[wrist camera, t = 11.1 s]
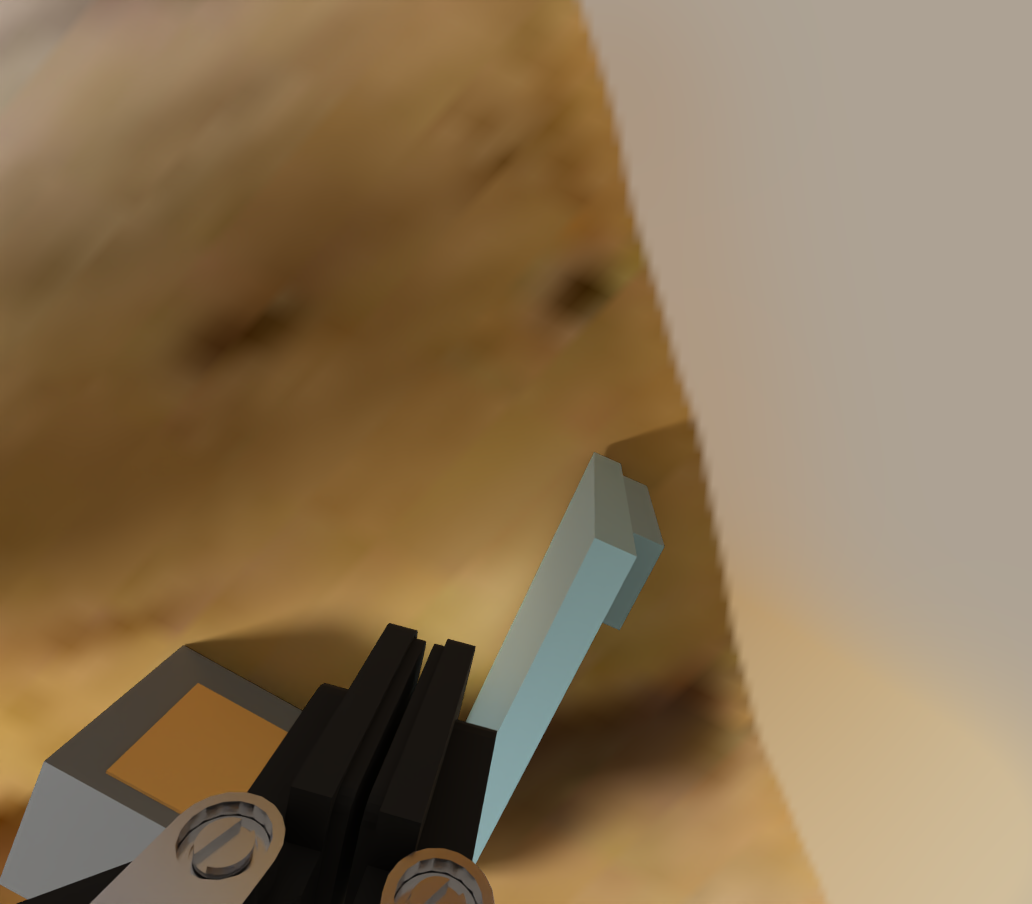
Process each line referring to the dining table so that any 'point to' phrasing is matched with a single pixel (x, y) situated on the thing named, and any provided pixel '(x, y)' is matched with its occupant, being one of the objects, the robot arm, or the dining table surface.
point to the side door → (564, 620)
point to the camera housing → (143, 770)
